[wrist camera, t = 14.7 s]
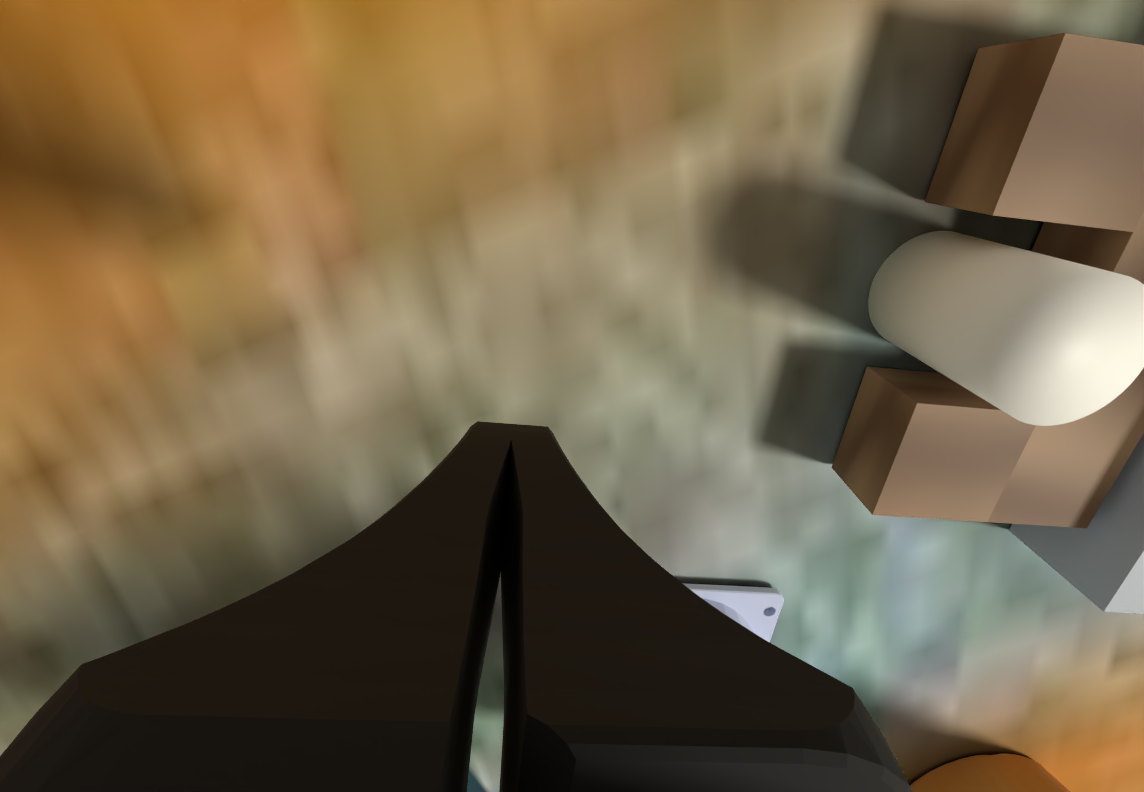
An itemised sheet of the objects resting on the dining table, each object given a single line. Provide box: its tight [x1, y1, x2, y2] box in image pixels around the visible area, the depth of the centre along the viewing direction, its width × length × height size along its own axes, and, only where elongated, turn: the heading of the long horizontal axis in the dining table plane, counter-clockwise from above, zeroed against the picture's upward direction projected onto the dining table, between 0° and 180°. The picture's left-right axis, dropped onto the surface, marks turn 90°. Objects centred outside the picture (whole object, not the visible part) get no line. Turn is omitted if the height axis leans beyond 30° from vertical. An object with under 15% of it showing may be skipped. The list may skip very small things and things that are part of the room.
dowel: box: [868, 231, 1144, 426], centre depth 17 cm, size 4×4×6 cm
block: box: [832, 33, 1144, 528], centre depth 18 cm, size 14×8×3 cm, turn 173°
